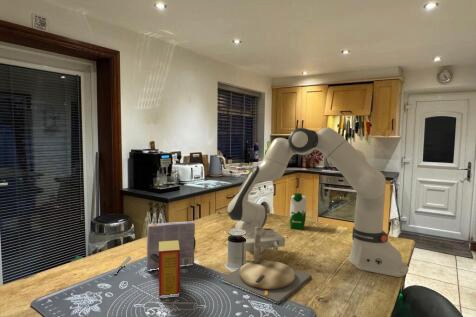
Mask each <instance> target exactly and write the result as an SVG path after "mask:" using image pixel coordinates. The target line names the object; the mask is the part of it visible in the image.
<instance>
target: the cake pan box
mask: <svg viewBox="0 0 476 317" xmlns="http://www.w3.org/2000/svg"><path fill="white" fill-rule="evenodd" d="M195 224H196V223H195V222H194V221H193V220H188V221H175V222H161V223H159V222H157V223H147V225H146V226H147V228H146V229H147V230H146V231H147V232H146V233H147V234H146V235H147V236H146V269H148V270H150V269H157V268H159V241H173V240H178V242H179V248H180V265H187V264H194V265H195V251H196V250H195V249H196V245H197V244H196V237H195V234H196V232H195V231H196V230H195V228H196V225H195ZM148 270H147V271H148Z"/></svg>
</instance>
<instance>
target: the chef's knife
mask: <svg viewBox="0 0 476 317" xmlns="http://www.w3.org/2000/svg"><path fill="white" fill-rule="evenodd" d="M130 260H132V257H131V256H130V255H128V256H127V258H125V260H123V262H122V263H121V264H120V266H119V267H118V268H120V267H122V266H123V265H125V264H127V263H128V262H129V261H130Z"/></svg>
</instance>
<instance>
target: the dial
mask: <svg viewBox="0 0 476 317" xmlns="http://www.w3.org/2000/svg"><path fill="white" fill-rule="evenodd" d="M260 246H261V227H258V226H257V227H255V238H254V250H253V254H254V255H253V260H252V261H250V262H246V263H245V264H243V265H242V266H241V267H240V278H241V280H242V281H243V282H245V283H246V284H248V285H250V286H253V287H257V288H262V289H278V288H283V287H286V286H289V285H290V284H292V283H293V281H294V278H295V273H294V271H293V269H294V268H292V267H291V266H290V265H287V264H285V263H283V262H280V261H276V260H266V259H262V260H260V259H261V252H260Z"/></svg>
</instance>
